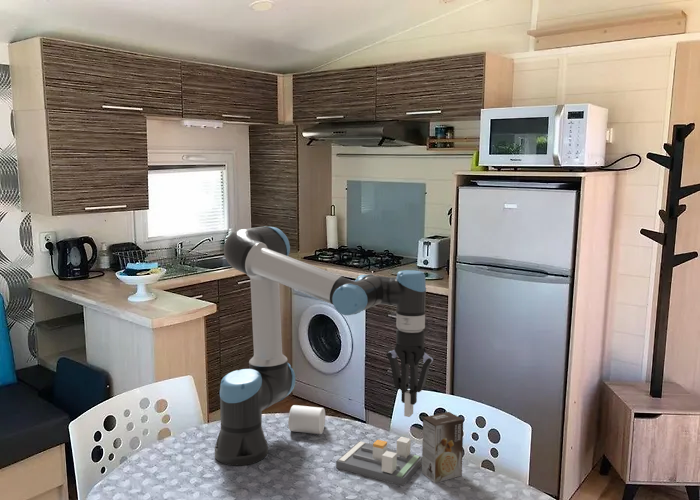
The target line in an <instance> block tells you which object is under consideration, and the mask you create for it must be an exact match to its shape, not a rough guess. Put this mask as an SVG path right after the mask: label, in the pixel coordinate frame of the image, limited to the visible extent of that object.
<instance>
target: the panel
mask: <svg viewBox="0 0 700 500" xmlns="http://www.w3.org/2000/svg"><path fill="white" fill-rule="evenodd" d="M387 451H390V452H394V453H396V451H397V449H392V448H388V447H387ZM335 464H336V465H335V466H336V467H335V468H336V469H340V470H344V471H347V472H350V473H354V474H357V475H361V476H365V477H369V478H372V479H376V480H379V481H384V482H387V483H391V484H393V485H397V486H401V487H404V486H405V485H406V484H407V482H408V481H409V480H411V478H412V476H413V475H414V474H416V471H417V470H418V469H419V468H420V467H422V455H416V454H413V453H410V455H409V456H408V457H407V458H406V457H402V456H398V455H397V465H396V470H395V471H394V472H393V473H392V474H391V473H387V472H384V471H382V461H381V460H377V459H373V443H372V444H371V443H368V442H364V441H357V442H356V443H355V444H353V446H352V447H350V448H349V449H348V450H347V451H346V452H345V453H344V454H342V455H341V456H340V457H338V459H337V460H336V461H335Z"/></svg>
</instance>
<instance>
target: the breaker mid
mask: <svg viewBox="0 0 700 500" xmlns="http://www.w3.org/2000/svg"><path fill="white" fill-rule="evenodd" d="M372 445H373V459H377V460H381V461H382V455H383V454H384V453H385V452H386V451H387V448H388V441H385V440H381V439H377V440H375V441H374V442H373V443H372Z"/></svg>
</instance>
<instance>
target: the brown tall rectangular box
mask: <svg viewBox="0 0 700 500" xmlns="http://www.w3.org/2000/svg"><path fill="white" fill-rule="evenodd" d="M463 437H464V419H463V418H461V417H460V416H457V415H456V414H454V413H452V412H450V411H447V412H442V413H437V414H432V415H428V416H424V417H422V448H421V451H422V452H421V453H422V454H421V457H422V465H421V474H422V475H424V476H426V477H427V478H428V479H429V480H430V481H432V482H433V483H434V484H437V483H440V482H444V481H448V480H451V479H454V478H459V477H461V476H462V475H463V443H464V442H463V440H464V438H463Z"/></svg>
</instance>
